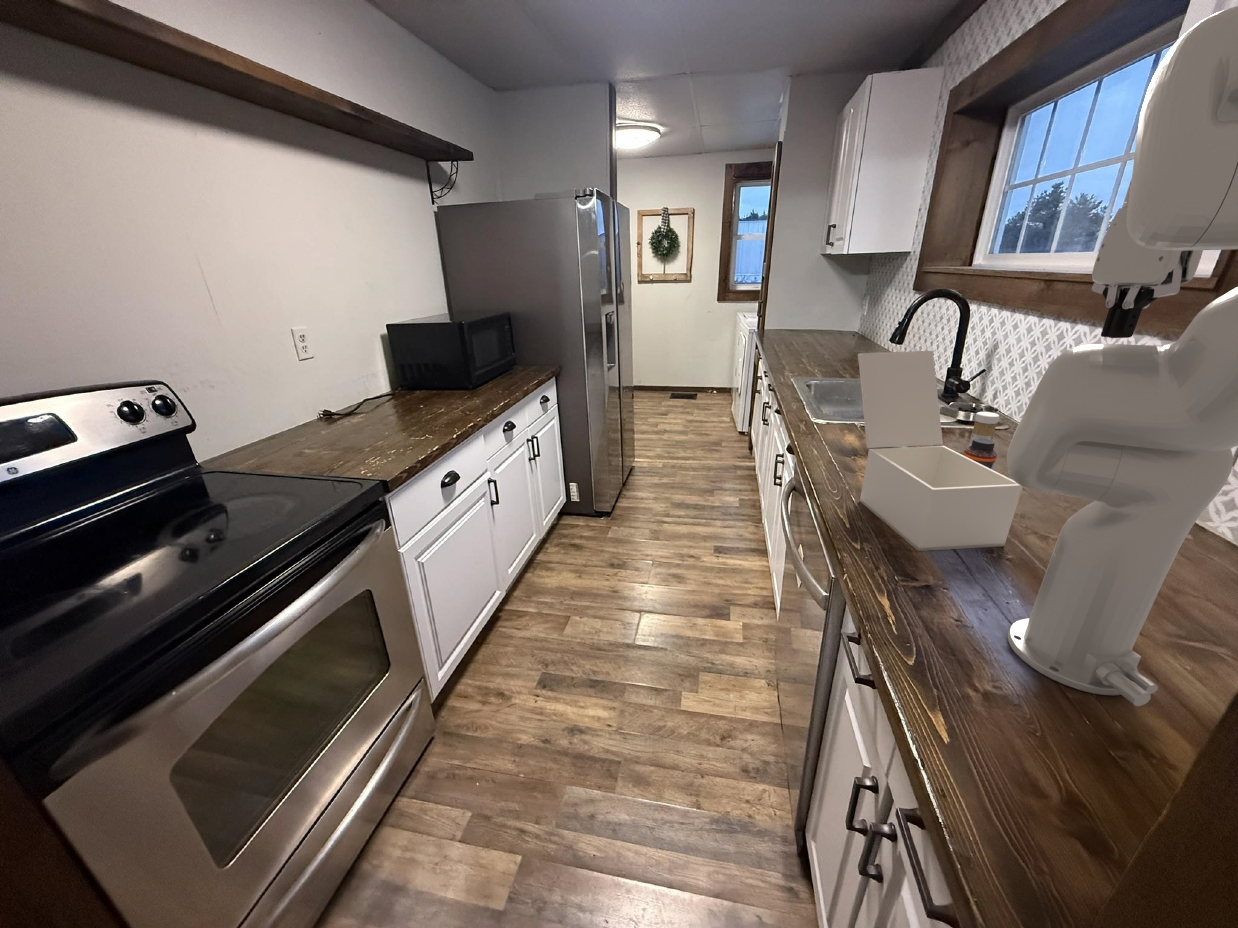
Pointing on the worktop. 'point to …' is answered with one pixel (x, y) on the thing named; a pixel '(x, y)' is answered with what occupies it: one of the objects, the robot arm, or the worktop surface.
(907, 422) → the lid flap
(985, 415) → the sprinkles bottle
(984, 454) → the supplement bottle
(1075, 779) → the worktop surface
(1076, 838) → the worktop surface
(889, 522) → the carton
